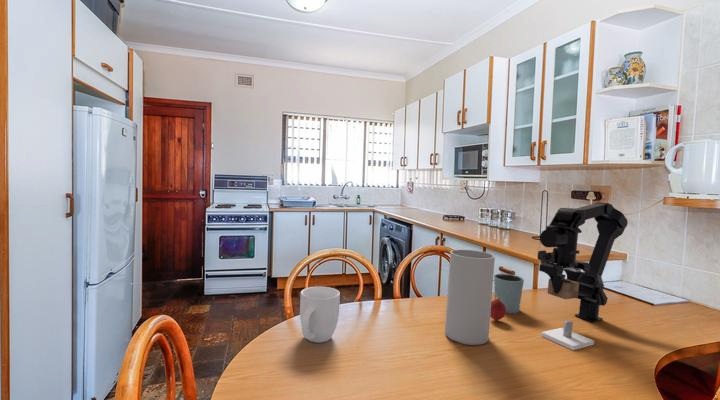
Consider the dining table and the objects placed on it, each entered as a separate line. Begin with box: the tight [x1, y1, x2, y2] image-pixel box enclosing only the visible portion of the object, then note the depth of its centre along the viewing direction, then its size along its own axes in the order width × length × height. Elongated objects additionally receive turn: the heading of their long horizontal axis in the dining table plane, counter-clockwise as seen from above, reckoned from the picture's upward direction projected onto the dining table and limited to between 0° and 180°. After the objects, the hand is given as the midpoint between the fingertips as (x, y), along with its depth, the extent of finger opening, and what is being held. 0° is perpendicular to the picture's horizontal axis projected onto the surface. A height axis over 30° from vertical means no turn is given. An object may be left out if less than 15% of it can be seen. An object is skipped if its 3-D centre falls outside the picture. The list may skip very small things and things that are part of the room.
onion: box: [490, 297, 507, 322], centre depth 123 cm, size 6×6×8 cm
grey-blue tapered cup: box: [493, 273, 525, 314], centre depth 135 cm, size 10×10×12 cm
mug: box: [299, 286, 341, 343], centre depth 101 cm, size 15×11×13 cm
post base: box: [540, 319, 595, 351], centre depth 110 cm, size 10×10×6 cm
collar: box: [547, 278, 579, 300], centre depth 122 cm, size 6×6×5 cm
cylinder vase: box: [444, 249, 496, 346], centre depth 108 cm, size 12×12×25 cm
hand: (562, 292), depth 122 cm, fingers closed on collar, 6 cm apart
